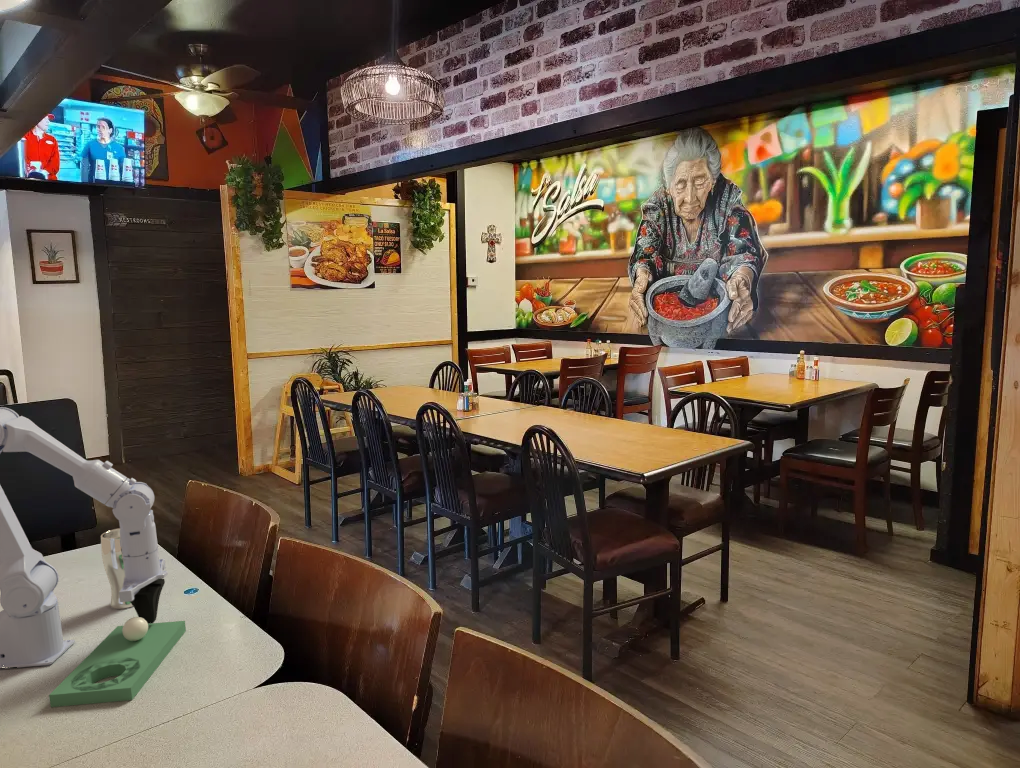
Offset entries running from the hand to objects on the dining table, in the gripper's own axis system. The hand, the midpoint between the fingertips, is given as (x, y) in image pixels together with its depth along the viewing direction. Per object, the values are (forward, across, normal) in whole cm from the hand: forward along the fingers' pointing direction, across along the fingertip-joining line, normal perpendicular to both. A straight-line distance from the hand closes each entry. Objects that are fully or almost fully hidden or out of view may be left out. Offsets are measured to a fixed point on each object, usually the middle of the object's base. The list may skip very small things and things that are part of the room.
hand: (148, 621), depth 126 cm
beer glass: (+3, +16, +11) cm, 19 cm away
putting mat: (+3, -10, 0) cm, 11 cm away
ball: (-1, -5, 0) cm, 5 cm away
